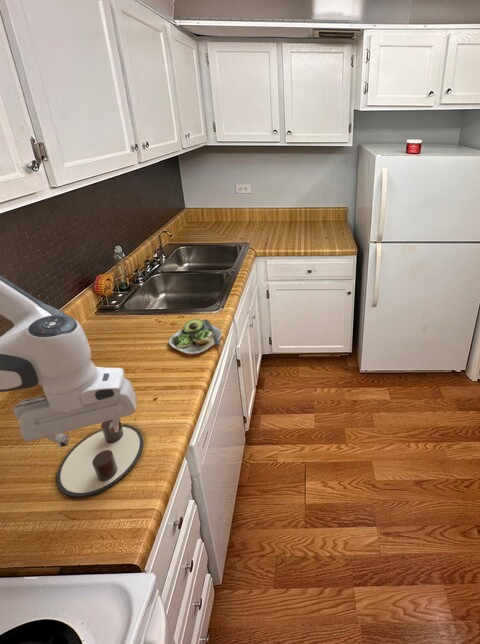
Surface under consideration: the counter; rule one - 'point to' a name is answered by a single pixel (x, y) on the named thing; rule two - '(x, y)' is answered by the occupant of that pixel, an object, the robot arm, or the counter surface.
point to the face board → (77, 465)
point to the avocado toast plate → (196, 337)
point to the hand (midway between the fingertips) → (90, 437)
